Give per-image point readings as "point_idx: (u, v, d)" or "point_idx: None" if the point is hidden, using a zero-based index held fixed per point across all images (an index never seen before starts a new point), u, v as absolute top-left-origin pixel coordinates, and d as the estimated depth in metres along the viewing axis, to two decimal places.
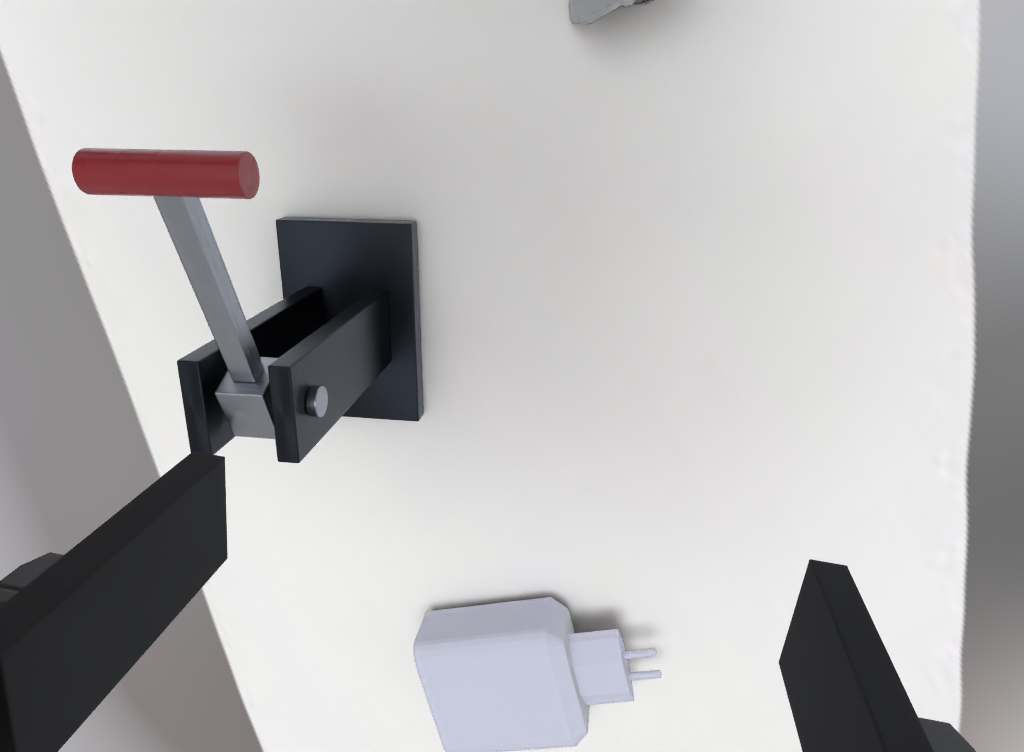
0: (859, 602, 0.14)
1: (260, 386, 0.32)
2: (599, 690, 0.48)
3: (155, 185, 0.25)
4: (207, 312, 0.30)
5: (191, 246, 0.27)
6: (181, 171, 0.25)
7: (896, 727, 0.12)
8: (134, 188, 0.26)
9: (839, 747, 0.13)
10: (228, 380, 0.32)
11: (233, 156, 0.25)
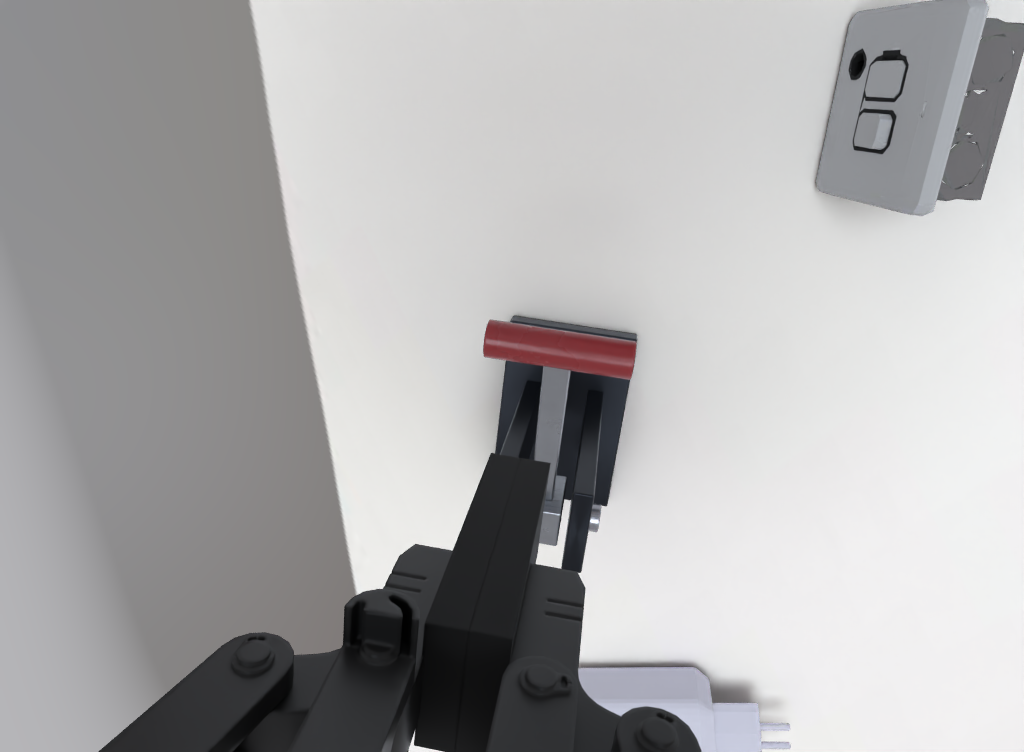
0: (541, 486, 0.17)
1: (556, 505, 0.37)
2: None
3: (555, 362, 0.30)
4: (540, 448, 0.34)
5: (556, 403, 0.32)
6: (583, 355, 0.30)
7: (506, 563, 0.14)
8: (534, 361, 0.30)
9: None
10: None
11: (628, 347, 0.30)
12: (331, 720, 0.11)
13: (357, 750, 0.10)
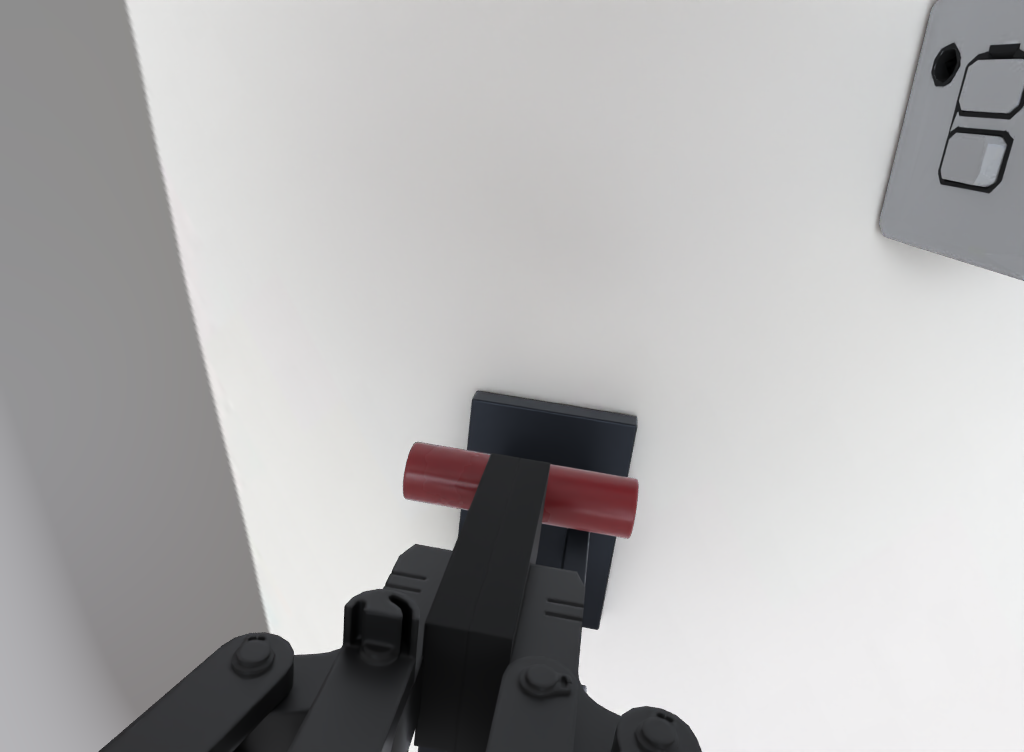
0: (541, 486, 0.17)
1: None
2: None
3: None
4: None
5: None
6: (556, 502, 0.19)
7: (506, 563, 0.14)
8: None
9: None
10: None
11: (626, 491, 0.19)
12: (331, 720, 0.11)
13: (357, 750, 0.10)
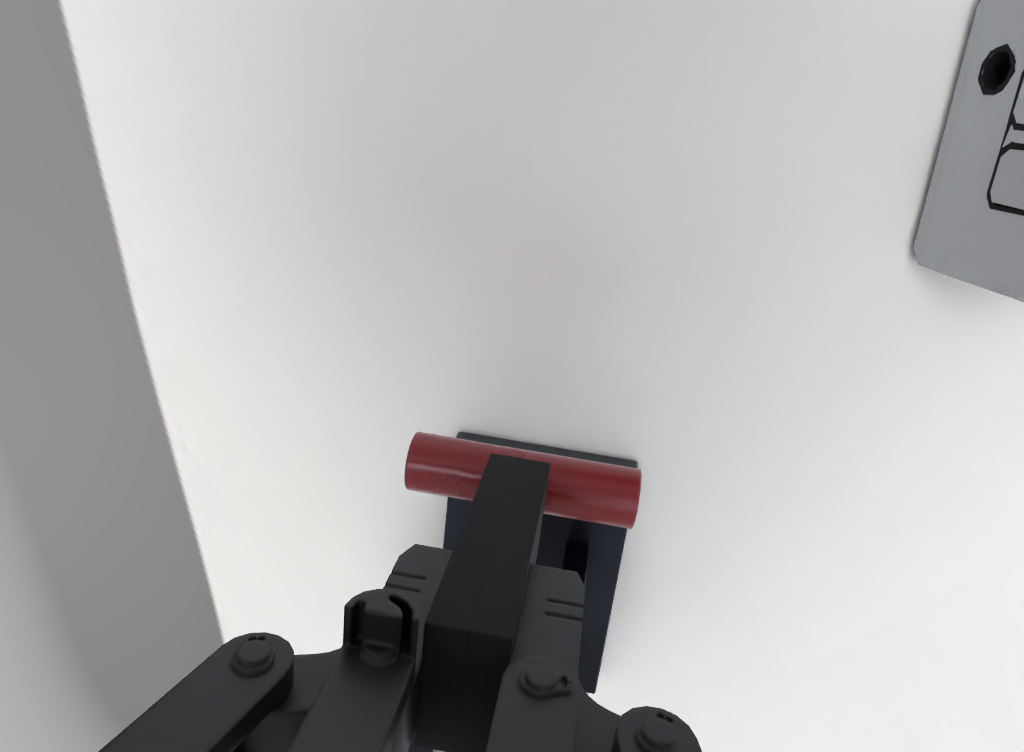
0: (541, 486, 0.17)
1: None
2: None
3: None
4: None
5: None
6: (560, 480, 0.19)
7: (506, 563, 0.14)
8: None
9: None
10: None
11: (630, 473, 0.19)
12: (331, 721, 0.11)
13: (357, 750, 0.10)
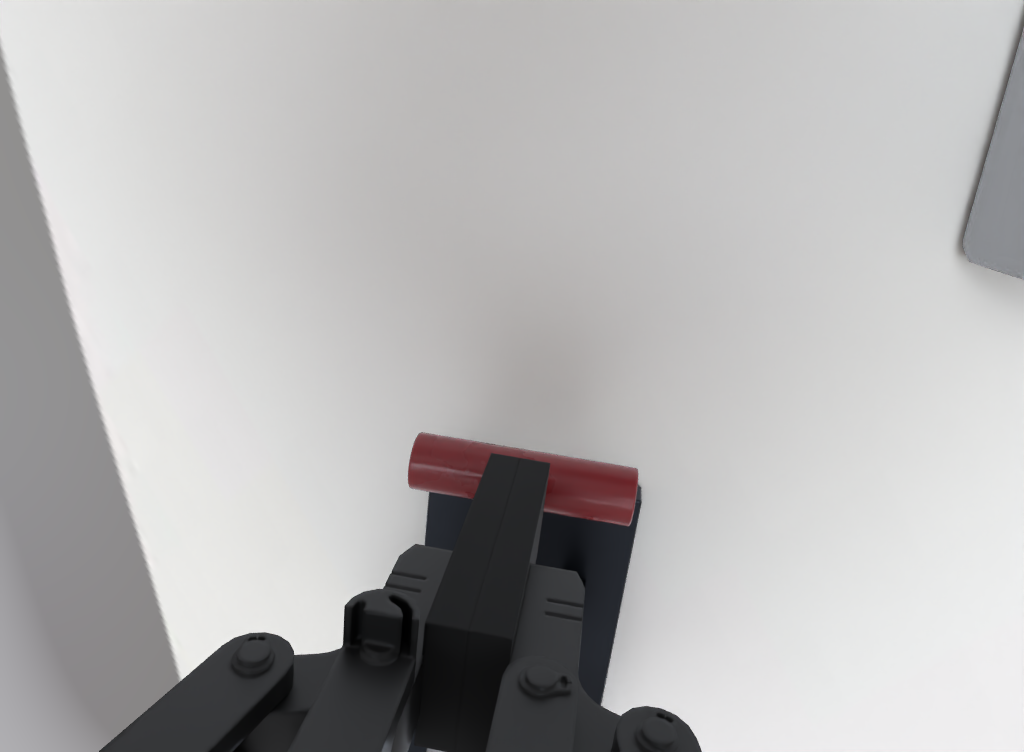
0: (541, 486, 0.17)
1: None
2: None
3: None
4: None
5: None
6: (561, 469, 0.20)
7: (506, 563, 0.14)
8: None
9: None
10: None
11: None
12: (331, 720, 0.11)
13: (357, 750, 0.10)
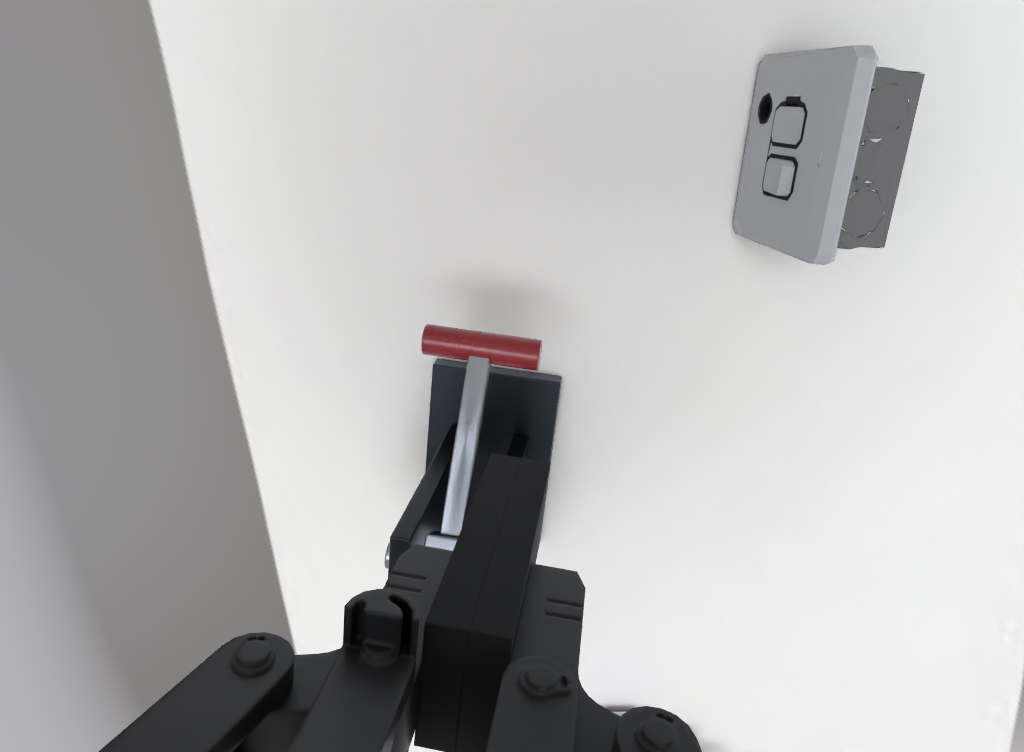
0: (541, 486, 0.17)
1: None
2: None
3: (479, 345, 0.38)
4: (456, 458, 0.38)
5: (475, 397, 0.38)
6: (501, 339, 0.38)
7: (506, 563, 0.14)
8: (462, 345, 0.38)
9: None
10: (435, 533, 0.37)
11: (536, 340, 0.38)
12: (331, 720, 0.11)
13: (357, 750, 0.10)
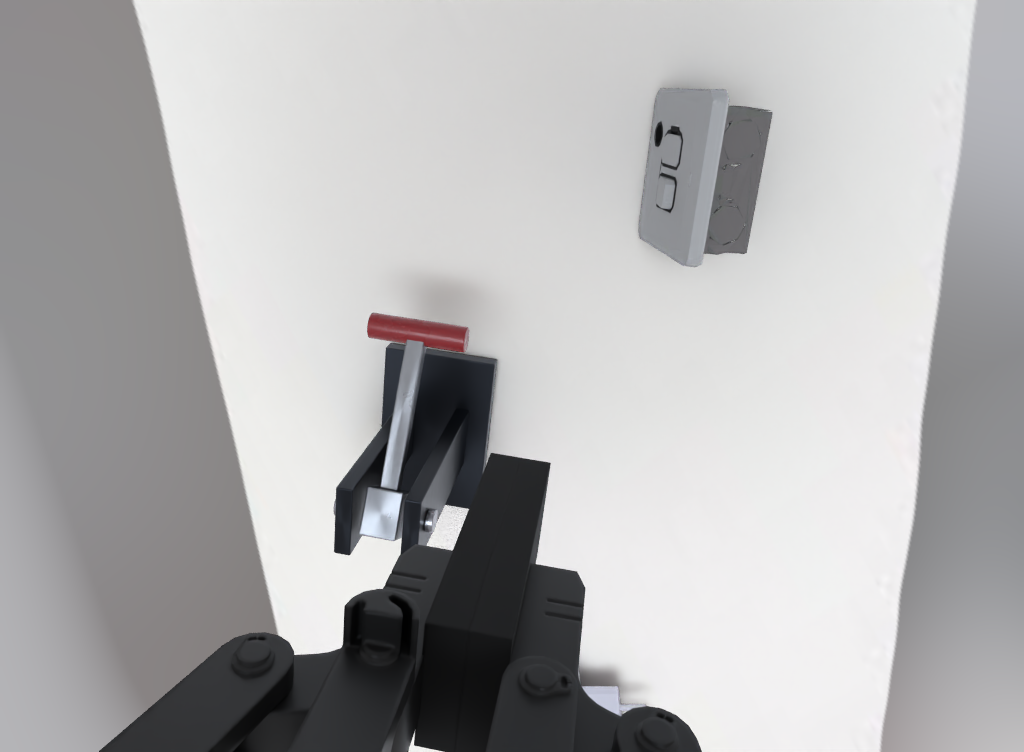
0: (541, 486, 0.17)
1: (400, 491, 0.44)
2: None
3: (415, 330, 0.45)
4: (394, 424, 0.45)
5: (411, 374, 0.45)
6: (433, 326, 0.45)
7: (506, 563, 0.14)
8: (401, 331, 0.45)
9: None
10: (376, 487, 0.45)
11: (463, 327, 0.46)
12: (331, 720, 0.11)
13: (357, 750, 0.10)
